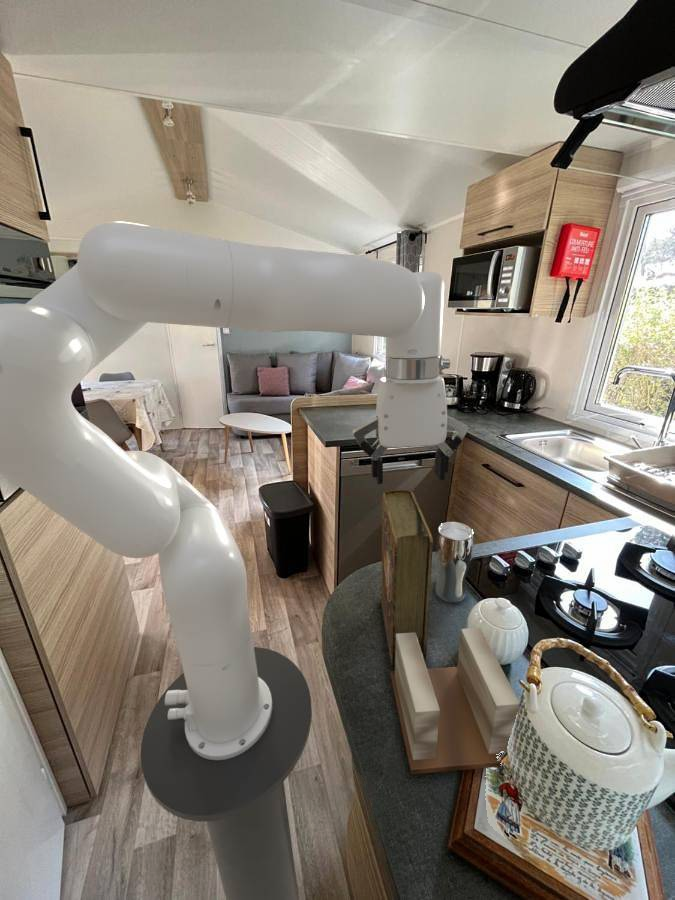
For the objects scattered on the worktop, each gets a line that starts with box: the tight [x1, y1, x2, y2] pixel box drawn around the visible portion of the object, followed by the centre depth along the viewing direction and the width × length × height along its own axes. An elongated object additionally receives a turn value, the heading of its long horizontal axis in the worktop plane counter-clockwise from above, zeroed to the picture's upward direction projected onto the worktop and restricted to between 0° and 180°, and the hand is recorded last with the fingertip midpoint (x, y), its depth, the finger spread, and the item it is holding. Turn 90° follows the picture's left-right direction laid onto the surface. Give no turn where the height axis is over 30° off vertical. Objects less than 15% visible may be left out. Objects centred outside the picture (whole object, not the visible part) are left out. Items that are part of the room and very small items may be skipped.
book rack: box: [389, 627, 520, 775], centre depth 54 cm, size 14×14×10 cm
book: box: [381, 488, 434, 667], centre depth 66 cm, size 16×6×25 cm, turn 0°
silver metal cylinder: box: [434, 521, 474, 603], centre depth 77 cm, size 7×7×15 cm
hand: (409, 478), depth 60 cm, fingers open, 9 cm apart
